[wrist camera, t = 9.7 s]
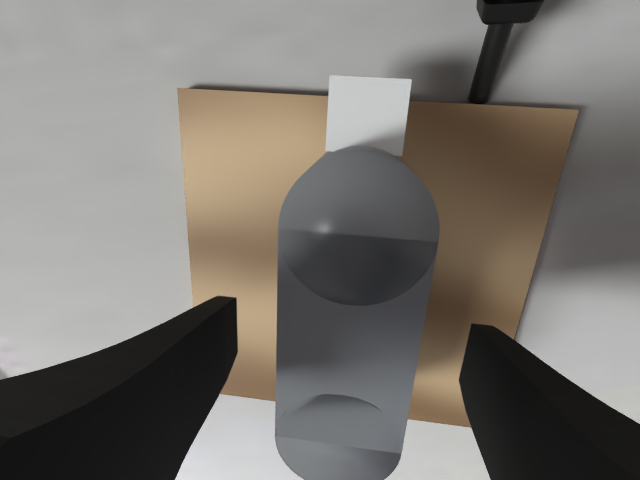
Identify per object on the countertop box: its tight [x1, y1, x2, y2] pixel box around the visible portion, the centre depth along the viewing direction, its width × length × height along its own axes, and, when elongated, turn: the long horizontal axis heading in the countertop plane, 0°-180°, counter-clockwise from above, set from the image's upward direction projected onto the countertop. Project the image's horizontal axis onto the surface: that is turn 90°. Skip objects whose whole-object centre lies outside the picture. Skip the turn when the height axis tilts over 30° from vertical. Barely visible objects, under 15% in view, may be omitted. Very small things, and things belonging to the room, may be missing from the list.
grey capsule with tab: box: [275, 75, 440, 480], centre depth 12 cm, size 13×4×5 cm, turn 177°
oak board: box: [177, 88, 579, 427], centre depth 15 cm, size 14×14×1 cm
